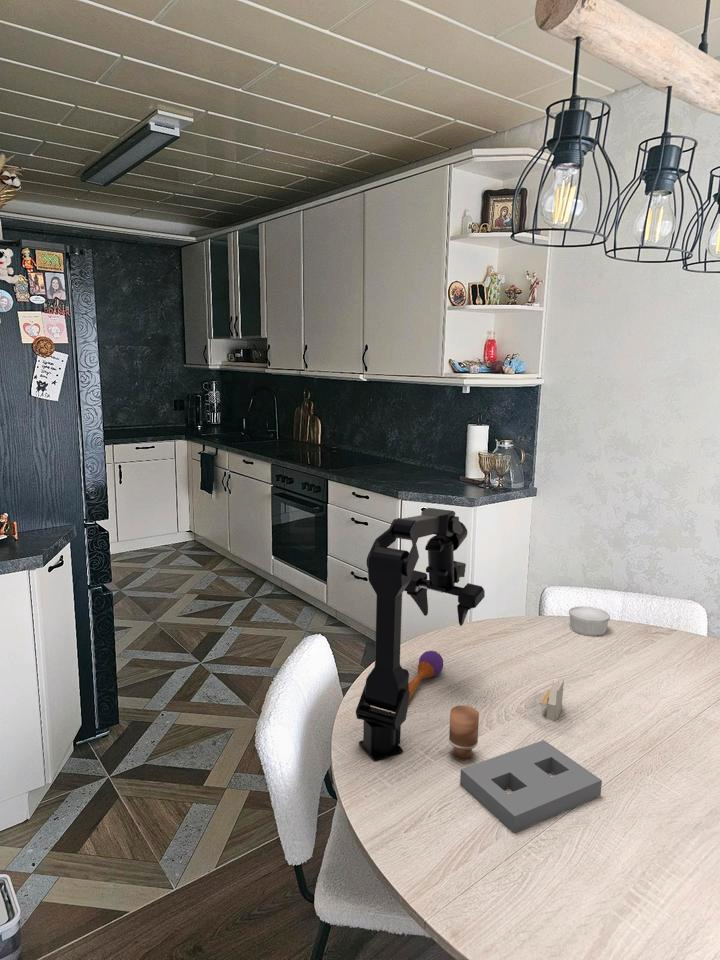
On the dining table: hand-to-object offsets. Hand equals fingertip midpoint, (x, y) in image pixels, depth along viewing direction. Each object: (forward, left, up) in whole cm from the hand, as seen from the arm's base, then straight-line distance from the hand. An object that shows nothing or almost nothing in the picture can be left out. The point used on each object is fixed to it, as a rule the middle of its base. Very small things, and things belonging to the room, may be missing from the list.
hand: (443, 619), depth 154 cm
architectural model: (+13, -24, -16) cm, 31 cm away
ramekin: (+56, +6, -15) cm, 58 cm away
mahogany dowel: (-14, -27, -15) cm, 34 cm away
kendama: (-6, 0, -16) cm, 17 cm away
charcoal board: (-10, -41, -15) cm, 45 cm away
